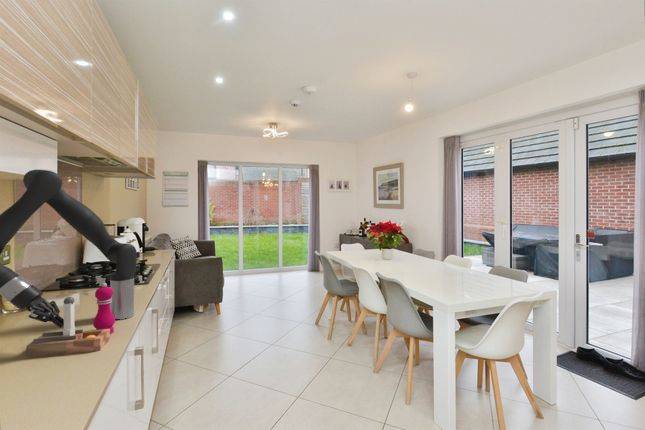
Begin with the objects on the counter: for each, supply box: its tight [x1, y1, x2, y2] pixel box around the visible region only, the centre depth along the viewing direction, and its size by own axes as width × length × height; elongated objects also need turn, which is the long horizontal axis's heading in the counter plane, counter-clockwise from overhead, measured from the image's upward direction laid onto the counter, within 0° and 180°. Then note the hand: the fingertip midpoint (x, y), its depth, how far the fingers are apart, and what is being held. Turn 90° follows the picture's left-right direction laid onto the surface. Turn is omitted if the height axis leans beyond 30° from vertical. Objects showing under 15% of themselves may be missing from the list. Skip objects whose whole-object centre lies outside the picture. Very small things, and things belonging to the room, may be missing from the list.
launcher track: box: [25, 328, 111, 359], centre depth 114 cm, size 10×21×5 cm, turn 107°
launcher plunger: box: [62, 296, 76, 336], centre depth 114 cm, size 4×3×14 cm
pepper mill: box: [92, 282, 116, 335], centre depth 127 cm, size 7×7×20 cm
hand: (64, 325), depth 113 cm, fingers closed
